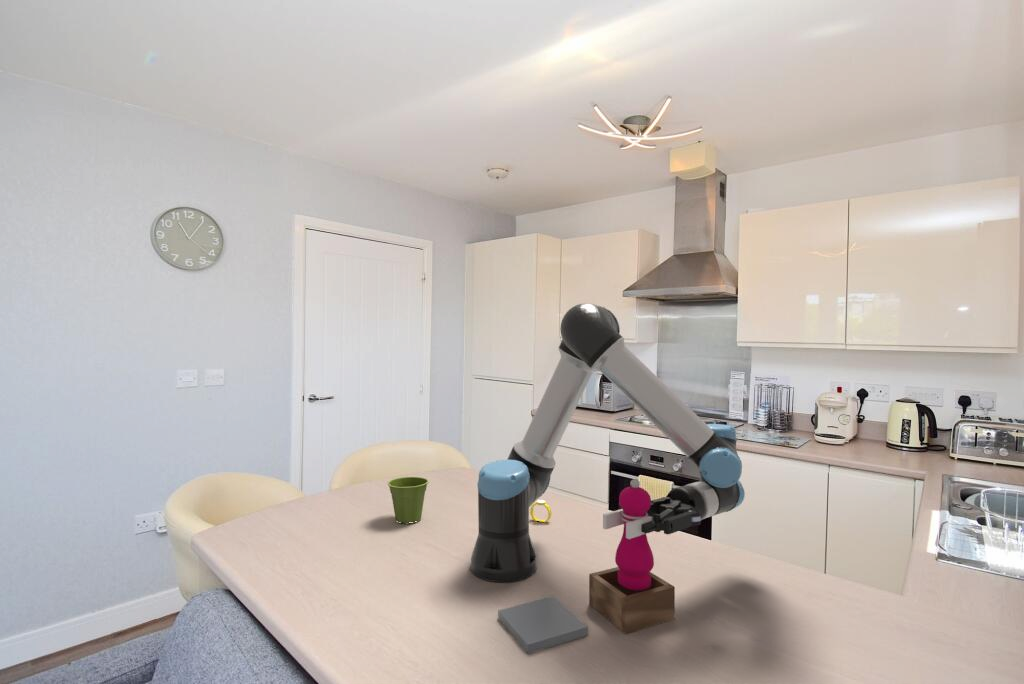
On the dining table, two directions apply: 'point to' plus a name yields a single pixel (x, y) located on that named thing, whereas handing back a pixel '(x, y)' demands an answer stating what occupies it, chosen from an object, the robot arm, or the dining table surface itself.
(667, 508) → the robot arm
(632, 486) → the pepper mill
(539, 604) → the slate tile
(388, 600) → the dining table surface
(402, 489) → the plant pot
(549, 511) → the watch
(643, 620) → the walnut collar
